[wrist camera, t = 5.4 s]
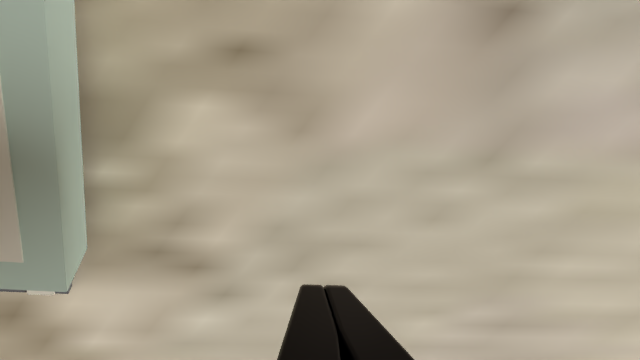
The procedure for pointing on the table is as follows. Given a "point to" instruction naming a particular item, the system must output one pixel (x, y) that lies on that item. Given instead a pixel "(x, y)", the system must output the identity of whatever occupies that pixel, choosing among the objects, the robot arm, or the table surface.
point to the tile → (40, 147)
